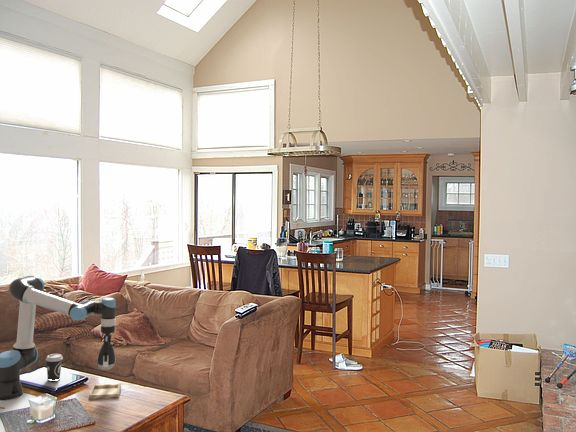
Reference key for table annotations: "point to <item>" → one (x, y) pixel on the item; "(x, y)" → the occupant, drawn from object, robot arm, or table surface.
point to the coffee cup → (54, 366)
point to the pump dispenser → (110, 359)
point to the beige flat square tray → (105, 391)
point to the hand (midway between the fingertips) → (106, 363)
